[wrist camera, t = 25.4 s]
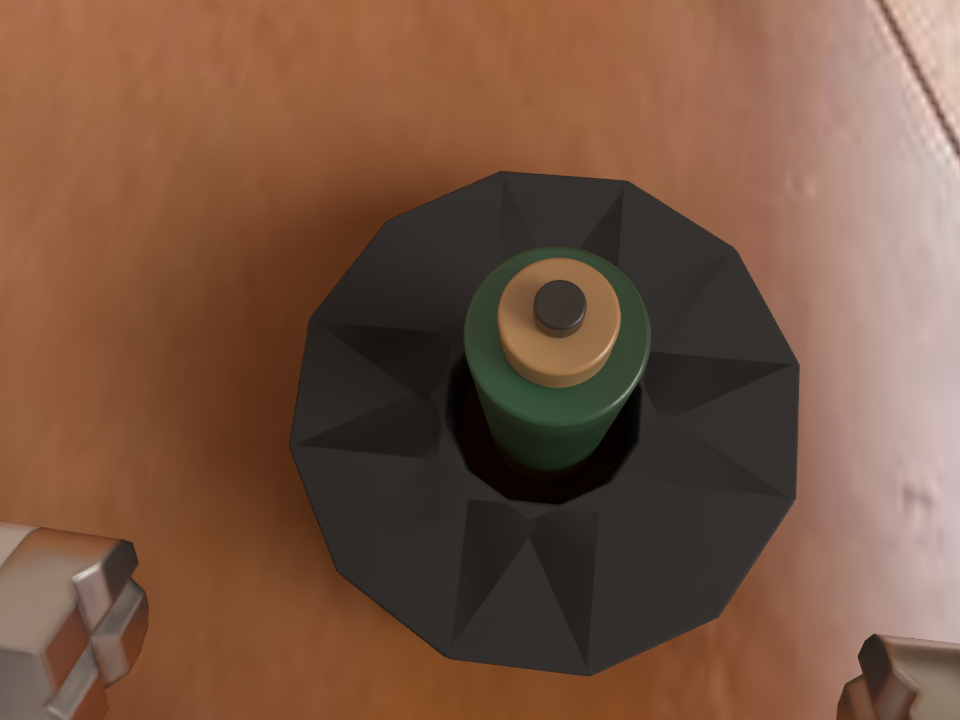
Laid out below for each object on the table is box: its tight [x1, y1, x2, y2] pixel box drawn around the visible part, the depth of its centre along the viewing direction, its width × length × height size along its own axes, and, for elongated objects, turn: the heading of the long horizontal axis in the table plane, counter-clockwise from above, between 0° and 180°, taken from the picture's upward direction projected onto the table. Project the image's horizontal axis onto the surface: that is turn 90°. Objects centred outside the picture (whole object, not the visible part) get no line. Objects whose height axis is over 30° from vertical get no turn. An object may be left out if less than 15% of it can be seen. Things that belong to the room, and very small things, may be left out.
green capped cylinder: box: [463, 246, 651, 481], centre depth 16 cm, size 3×3×11 cm
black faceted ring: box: [289, 171, 800, 676], centre depth 20 cm, size 11×11×4 cm
